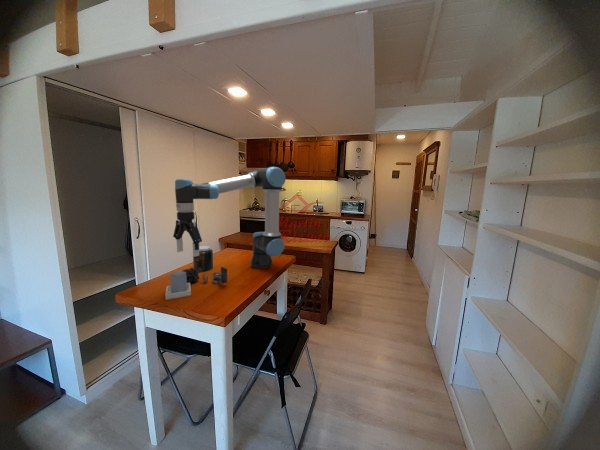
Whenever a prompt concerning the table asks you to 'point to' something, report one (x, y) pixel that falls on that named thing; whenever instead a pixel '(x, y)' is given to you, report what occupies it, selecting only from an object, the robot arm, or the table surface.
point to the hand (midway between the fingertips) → (188, 253)
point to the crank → (221, 275)
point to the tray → (178, 294)
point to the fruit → (191, 275)
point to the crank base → (205, 279)
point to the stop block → (178, 282)
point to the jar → (203, 259)
